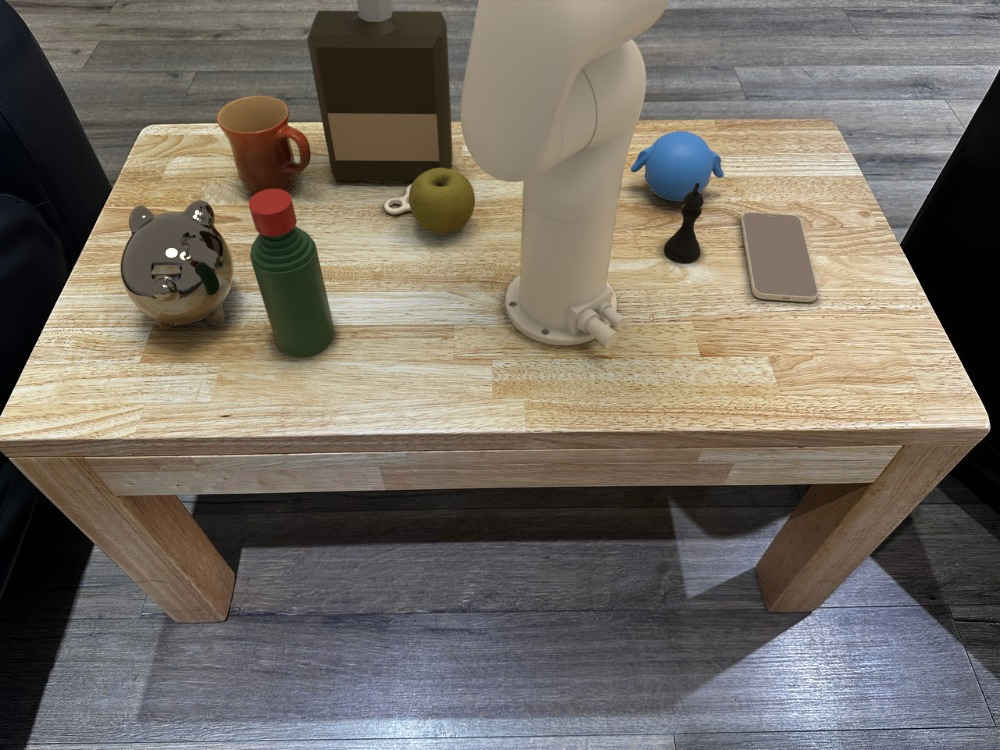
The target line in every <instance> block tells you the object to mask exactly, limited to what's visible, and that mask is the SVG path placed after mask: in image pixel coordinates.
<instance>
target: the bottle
mask: <svg viewBox="0 0 1000 750" xmlns="http://www.w3.org/2000/svg"><path fill="white" fill-rule="evenodd" d="M356 4H357V10H317V12H316V15H315V17H314V19H313V21H312V23H311V27H310V29H309V31H308V35H307V37H306V41H307V46H308V51H309V52H308V53H309V58H310V63H311V67H312V73H313V80H314V84H315V89H316V95H317V100H318V106H319V111H320V118H321V123H322V128H323V133H324V134H323V135H324V139H325V145H326V150H327V154H328V161H329V164H330V165H329V166H330V171H331V173H332V176H333V178H334V180H335V182H337V183H339V182H340V183H413V182H414V180H415V179H416V178H417V177H418V176H419V175H421V174H422V173H424V172H426V171H428V170H431V169H434V168H447V169H451V170H453V169H452V168H453V167H452V166H453V156H454V155H453V153H454V152H453V134H452V133H453V132H452V111H451V109H452V108H451V90H450V66H449V43H448V25H447V24H448V23H447V22H446V19H445V17H444V15H443V13H442V11H409V10H408V11H404V10H403V11H397V10H396V11H395V10H393V3H392V0H356Z"/></svg>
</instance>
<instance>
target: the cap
mask: <svg viewBox="0 0 1000 750" xmlns="http://www.w3.org/2000/svg"><path fill="white" fill-rule="evenodd" d="M248 208H249V211H250V215H251V219H252V222H253V225H254V229H255V230H256V232H257V233H258V234H259V233H260V234H262V235H265V236H271V237H273V236H281V235H284V234H286V233H288V232H290V231H291V230H292V229H293V228H294V227H295V226H297V222H298V221H297V220H298V219H297V216H296V211H295V207H294V203H293V198H292V196H291V194H290V193H289V191H284V190H281V189H266V190H263V191H260V192H258V193H256V194H253V195H252V196H251V197H250V199H249V201H248Z"/></svg>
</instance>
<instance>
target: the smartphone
mask: <svg viewBox="0 0 1000 750" xmlns="http://www.w3.org/2000/svg"><path fill="white" fill-rule="evenodd" d="M740 226H741V231H742V239H743V245H744V251H745V257H746V263H747V269H748V275H749V282H750V288H751V292H752V295H753V296H754V297H756V298H757V299H760V300H761V299H762V300H772V301H784V302H785V301H786V302H801V303H812V302H815V301H816V300H817V298H818V295H819V288H818V285H817V280H816V275H815V272H814V268H813V263H812V259H811V254H810V252H809V251H810V250H809V247H808V243H807V239H806V234H805V230H804V226H803V222H802V219H801V218H800V217H799V216H797V215H795V214H789V213H787V214H786V213H771V212H758V211H757V212H755V211H747V212H746V211H745V212H744V213H742V215H741V218H740Z"/></svg>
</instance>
